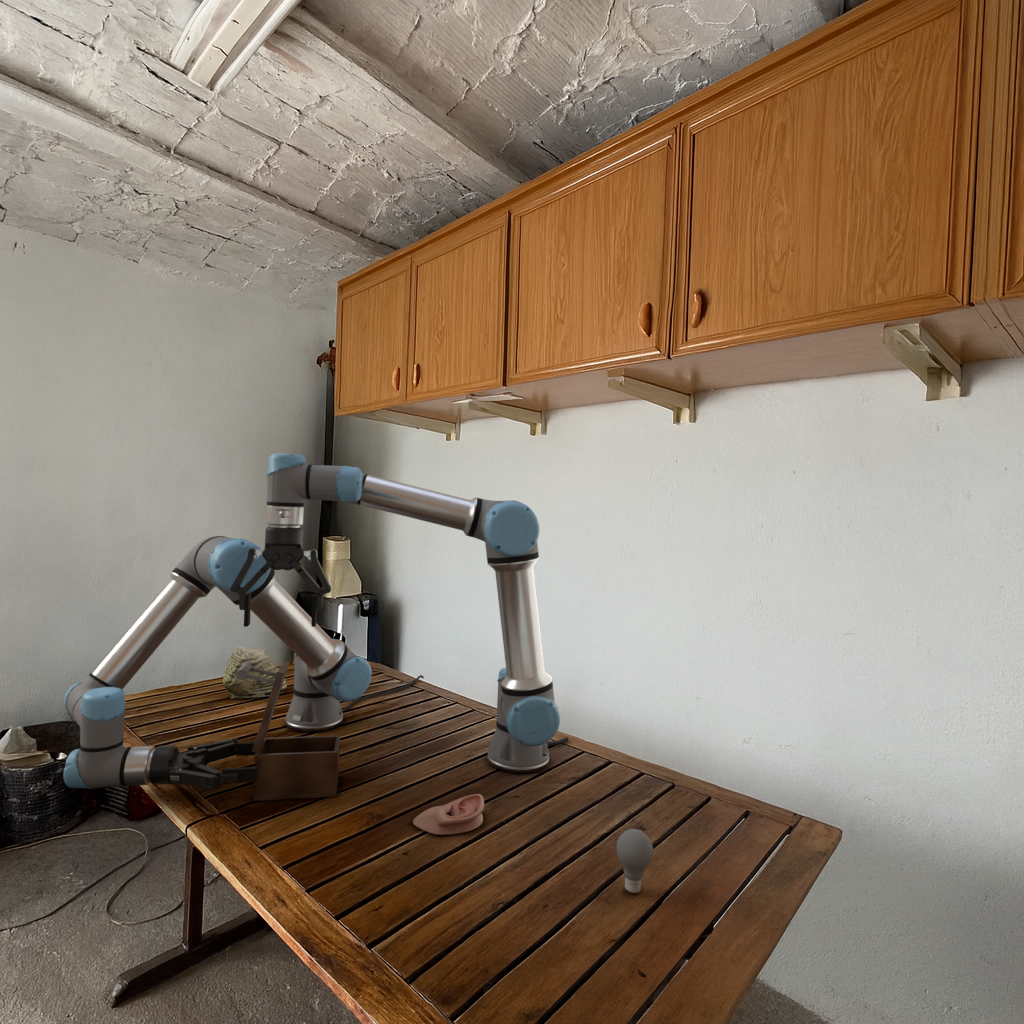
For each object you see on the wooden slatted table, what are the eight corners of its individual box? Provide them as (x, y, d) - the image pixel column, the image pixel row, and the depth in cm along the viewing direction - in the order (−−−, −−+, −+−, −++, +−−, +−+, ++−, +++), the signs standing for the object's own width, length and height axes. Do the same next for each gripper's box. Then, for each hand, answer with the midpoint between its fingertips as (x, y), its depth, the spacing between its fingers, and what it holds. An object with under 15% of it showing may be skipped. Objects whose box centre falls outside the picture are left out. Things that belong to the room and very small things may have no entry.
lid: (290, 661, 141) (247, 650, 139) (283, 673, 131) (238, 662, 129) (266, 735, 140) (223, 725, 138) (258, 752, 131) (212, 743, 129)
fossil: (218, 695, 195) (220, 647, 195) (278, 685, 208) (279, 640, 207) (228, 703, 189) (230, 653, 188) (289, 692, 201) (290, 645, 201)
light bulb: (610, 879, 108) (613, 822, 108) (644, 879, 109) (647, 822, 109) (619, 902, 102) (622, 840, 102) (655, 901, 103) (658, 840, 103)
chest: (338, 776, 144) (340, 735, 143) (335, 796, 134) (337, 752, 134) (261, 780, 140) (263, 737, 140) (253, 801, 131) (254, 755, 130)
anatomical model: (407, 809, 121) (427, 784, 133) (406, 830, 121) (426, 802, 133) (474, 819, 119) (489, 792, 130) (473, 840, 119) (488, 811, 130)
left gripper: (171, 758, 143) (271, 754, 148) (130, 813, 119) (251, 806, 123) (172, 725, 143) (272, 722, 147) (132, 773, 118) (252, 767, 123)
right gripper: (217, 525, 129) (213, 629, 129) (343, 529, 134) (340, 629, 134) (225, 523, 136) (222, 621, 136) (345, 527, 141) (341, 622, 142)
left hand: (263, 760), depth 135 cm, fingers open, 13 cm apart
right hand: (280, 625), depth 135 cm, fingers open, 13 cm apart
